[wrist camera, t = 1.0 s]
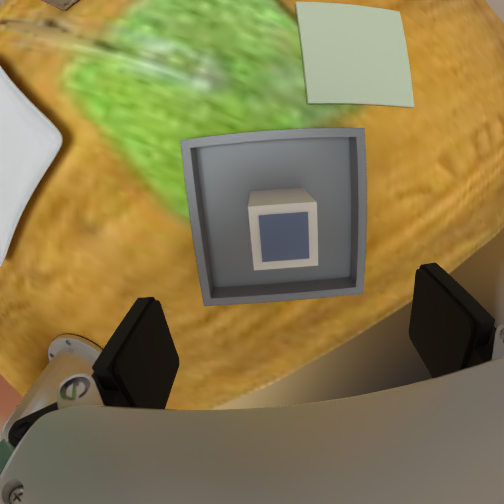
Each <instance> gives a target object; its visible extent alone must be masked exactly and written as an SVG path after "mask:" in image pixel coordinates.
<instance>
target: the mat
mask: <svg viewBox="0 0 504 504" xmlns="http://www.w3.org/2000/svg"><path fill="white" fill-rule="evenodd" d="M295 9H296V15H297V22H298V30H299V37H300V45H301V53H302V61H303V70H304V79H305V89H306V99H307V104H359V105H381V106H395V107H407V108H413V107H414V101H413V91H412V82H411V74H410V66H409V59H408V53H407V47H406V41H405V36H404V31H403V26H402V21H401V16H400V12H398V11H393V10H387V9H381V8H374V7H367V6H359V5H349V4H337V3H321V2H296V3H295Z"/></svg>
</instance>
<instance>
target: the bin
mask: <svg viewBox="0 0 504 504" xmlns="http://www.w3.org/2000/svg"><path fill="white" fill-rule="evenodd" d="M180 142H181V151H182V160H183V169H184V177H185V185H186V193H187V200H188V208H189V215H190V222H191V229H192V236H193V242H194V249H195V255H196V261H197V267H198V273H199V279H200V285H201V291H202V297H203V302H204V306H212V305H231V304H248V303H263V302H277V301H289V300H302V299H313V298H324V297H334V296H344V295H354V294H363V287H364V272H365V254H366V222H367V180H366V149H365V131H364V128H312V129H288V130H271V131H257V132H246V133H235V134H225V135H217V136H208V137H200V138H193V139H186V140H180ZM288 188H304V189H305V190H306V191H307V192H308V193H309V194H310V195H311V196H312V197H313V198H314V199H315V201H316V202H317V225H318V266H306V267H293V268H280V269H267V270H254V266H253V256H252V245H251V234H250V223H249V212H248V203H249V197H250V191H260V190H273V189H288Z"/></svg>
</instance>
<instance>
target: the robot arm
mask: <svg viewBox="0 0 504 504" xmlns="http://www.w3.org/2000/svg"><path fill="white" fill-rule="evenodd" d="M494 322H495V319H494V318H493V317H492V316H491V315H490V314H489V313H488V312H487V311H486V310H485V309H484V308H483V307H482V306H481V305H480V304H479V303H478V302H477V301H476V300H475V299H474V298H473V297H472V296H471V295H470V294H469V293H468V292H467V291H466V290H465V289H464V288H463V287H462V286H461V285H459V283H457V282H456V281H455V280H454V279H453V278H452V277H451V276H450V275H449V274H448V273H447V272H446V271H444V270H443V269H442V268H441V267H440V266H439V265H438V264H437V263H429V264H423V265H421V266H420V268H419V269H417V270H416V274H415V285H414V295H413V304H412V311H411V319H410V326H409V337H410V339H411V341H412V343H413V345H414V346H415V348H416V350H417V351H418V353H419V355H420V357H421V358H422V360H423V362H424V364H425V365H426V367H427V369H428V370H429V372H430V374H431V376H432V379H429V380H425V381H421V382H418V383H414V384H410V385H406V386H402V387H397V388H393V389H389V390H384V391H379V392H374V393H369V394H364V395H359V396H353V397H348V398H342V399H335V400H329V401H322V402H314V403H306V404H298V405H288V406H278V407H266V408H251V409H228V410H169V409H165V406H166V403H167V400H168V397H169V394H170V391H171V388H172V385H173V382H174V379H175V376H176V373H177V370H178V367H179V357H178V354H177V351H176V349H175V346H174V343H173V340H172V337H171V334H170V331H169V328H168V325H167V322H166V319H165V316H164V313H163V310H162V307H161V304H160V302H159V301H158V300H155V298H154V297H145V298H138V299H137V300H136V302H135V303H134V304H133V306H132V307H131V309H130V310H129V312H128V313H127V315H126V316H125V317H124V319H123V320H122V322H121V323H120V325H119V326H118V328H117V329H116V331H115V332H114V334H113V335H112V337H111V338H110V340H109V341H108V343H107V344H106V346H105V347H104V349H103V350H102V349H101V348H99V347H98V346H97V345H95V344H94V343H92V342H90V341H89V340H86V339H84V338H82V337H79V336H76V335H69V334H66V335H60V336H58V337H56V338H55V339H54V340H53V341H52V343H51V344H50V346H49V348H48V358H49V363H48V365H47V366H46V367H45V369H44V370H43V371H42V373H41V374H40V375H39V377H38V378H37V379H36V381H35V382H34V383H33V385H32V386H31V387H30V389H29V390H28V392H27V393H26V394H25V396H24V397H23V399H22V400H21V401H20V403H19V404H18V406H17V407H16V409H15V410H14V411H13V413H12V414H11V416H10V417H9V419H8V420H7V422H6V423H5V425H4V427H3V429H2V432H1V438H0V504H504V324H503V325H501V326H499V327H498V328H497V329H496V328H495V327H494Z"/></svg>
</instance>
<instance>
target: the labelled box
mask: <svg viewBox="0 0 504 504" xmlns="http://www.w3.org/2000/svg"><path fill="white" fill-rule="evenodd" d="M248 212H249V223H250V234H251V245H252V256H253V266H254V270H267V269H280V268H293V267H306V266H318V225H317V202H316V201H315V199H314V198H313V197H312V196H311V195H310V194H309V193H308V192H307V191H306V190H305V189H304V188H288V189H273V190H260V191H250V197H249V203H248Z"/></svg>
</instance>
